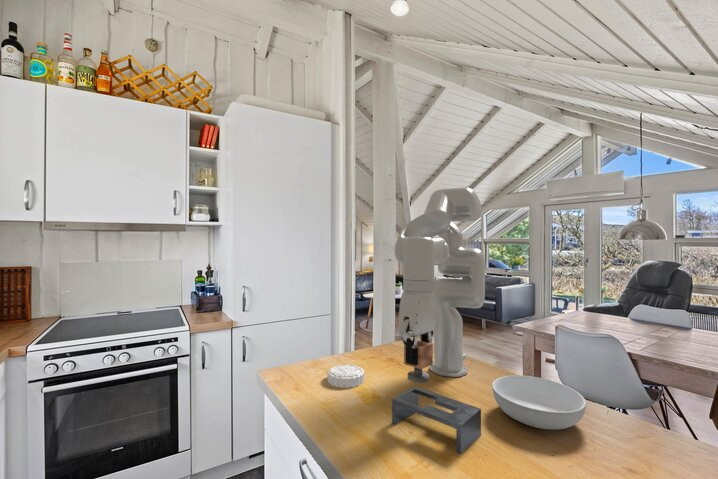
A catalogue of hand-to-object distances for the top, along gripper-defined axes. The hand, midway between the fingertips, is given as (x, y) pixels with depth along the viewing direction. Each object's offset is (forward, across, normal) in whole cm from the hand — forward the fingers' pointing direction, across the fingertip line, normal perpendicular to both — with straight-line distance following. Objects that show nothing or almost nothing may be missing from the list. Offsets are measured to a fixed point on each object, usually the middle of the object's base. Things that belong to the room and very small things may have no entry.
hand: (418, 360), depth 84 cm
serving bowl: (+15, -23, +20) cm, 34 cm away
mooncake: (+16, -7, -32) cm, 36 cm away
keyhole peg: (+4, 0, 0) cm, 4 cm away
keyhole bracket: (+15, -1, +4) cm, 16 cm away
